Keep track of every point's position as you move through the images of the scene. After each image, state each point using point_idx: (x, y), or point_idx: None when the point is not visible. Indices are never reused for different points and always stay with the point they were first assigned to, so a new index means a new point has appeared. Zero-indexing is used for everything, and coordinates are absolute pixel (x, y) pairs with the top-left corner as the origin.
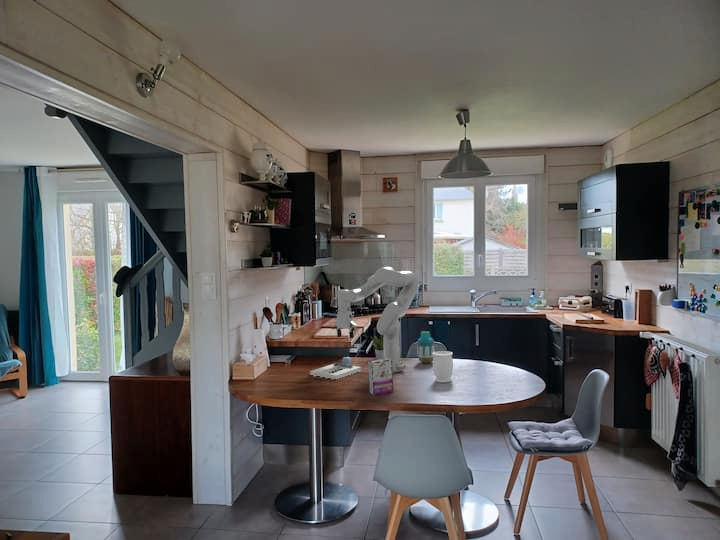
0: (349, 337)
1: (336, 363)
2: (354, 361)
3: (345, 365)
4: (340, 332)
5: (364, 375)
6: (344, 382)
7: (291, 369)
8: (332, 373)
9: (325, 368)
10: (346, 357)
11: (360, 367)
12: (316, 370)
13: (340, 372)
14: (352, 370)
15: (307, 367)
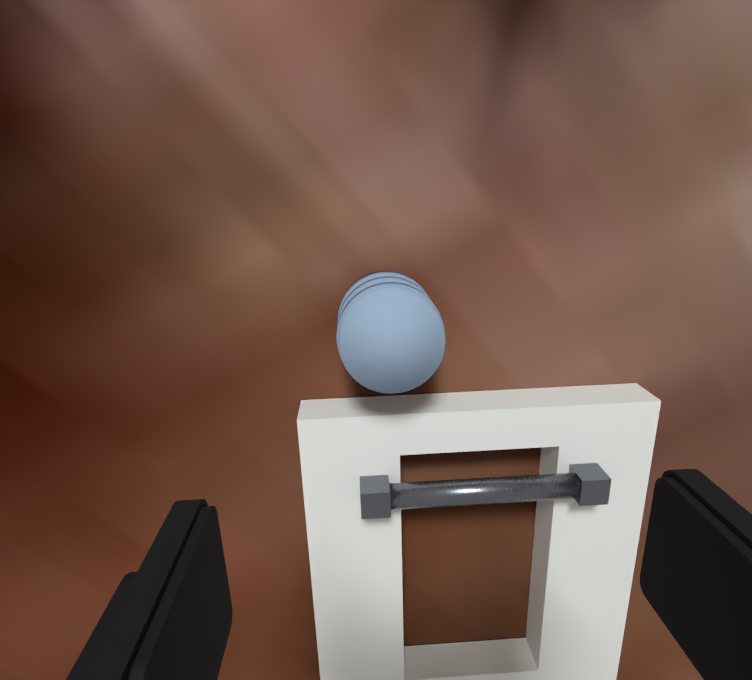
0: (650, 602)
1: (399, 508)
2: (274, 47)
3: (528, 500)
4: (178, 641)
5: (739, 470)
6: (688, 667)
7: (5, 644)
8: (547, 671)
9: (369, 601)
10: (376, 330)
11: (658, 405)
12: (350, 676)
13: (590, 622)
14: (639, 515)
15: (56, 535)
